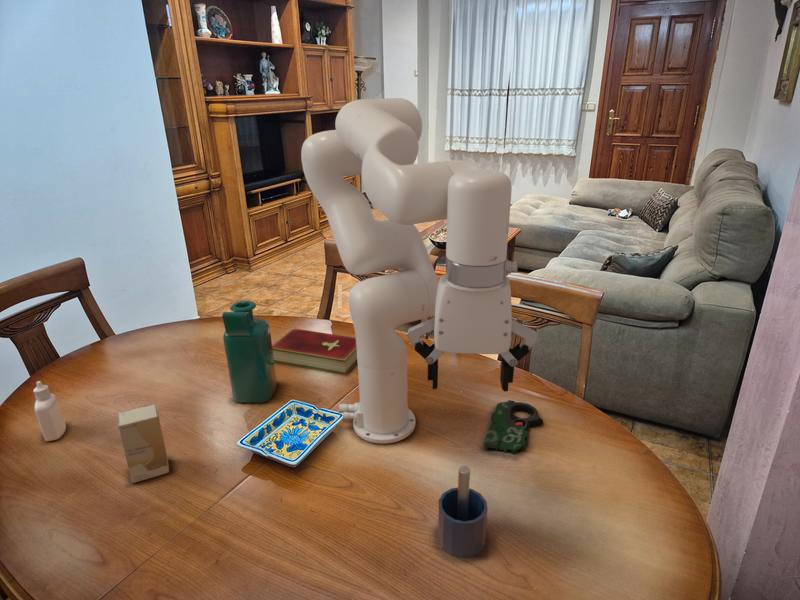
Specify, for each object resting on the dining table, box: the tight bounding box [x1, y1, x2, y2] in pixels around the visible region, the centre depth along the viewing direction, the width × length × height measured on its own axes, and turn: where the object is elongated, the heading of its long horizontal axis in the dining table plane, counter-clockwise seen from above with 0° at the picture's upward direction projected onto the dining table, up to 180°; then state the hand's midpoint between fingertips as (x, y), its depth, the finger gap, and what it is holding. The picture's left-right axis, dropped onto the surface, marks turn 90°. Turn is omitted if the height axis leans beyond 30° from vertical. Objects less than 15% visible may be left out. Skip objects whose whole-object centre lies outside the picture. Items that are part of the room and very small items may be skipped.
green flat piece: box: [483, 399, 544, 456], centre depth 101 cm, size 16×1×10 cm
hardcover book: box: [272, 327, 358, 376], centre depth 129 cm, size 12×21×4 cm, turn 70°
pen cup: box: [437, 486, 488, 559], centre depth 76 cm, size 7×7×7 cm
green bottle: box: [221, 300, 278, 404], centre depth 110 cm, size 10×8×22 cm
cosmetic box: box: [117, 403, 170, 484], centre depth 90 cm, size 6×4×12 cm
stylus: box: [457, 465, 471, 521], centre depth 74 cm, size 2×2×13 cm
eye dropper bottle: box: [32, 380, 67, 442], centre depth 101 cm, size 4×6×12 cm
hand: (469, 385), depth 72 cm, fingers open, 9 cm apart
